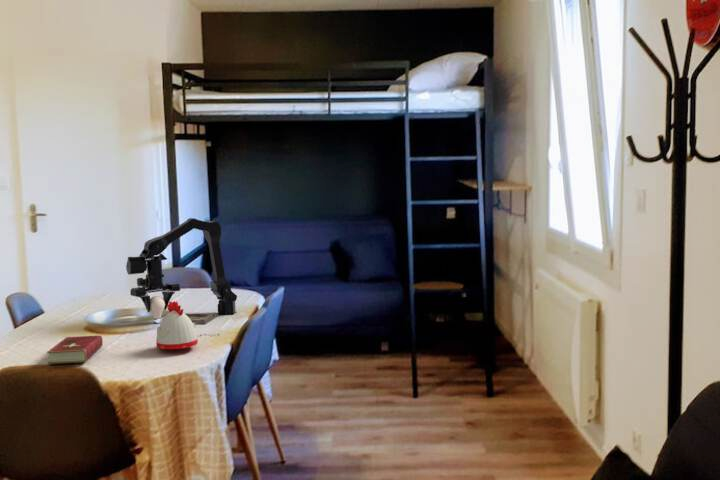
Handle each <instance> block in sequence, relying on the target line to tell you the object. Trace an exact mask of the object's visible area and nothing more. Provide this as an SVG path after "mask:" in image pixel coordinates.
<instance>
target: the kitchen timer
mask: <svg viewBox="0 0 720 480" xmlns="http://www.w3.org/2000/svg"><path fill="white" fill-rule="evenodd" d="M166 309H167V310H168V313H167V314H166V315H165V316H164V318H163V319H161V322H160V323H159V326H157V328H156V338H155V339H156V342H155V344H156V348H158V349H163V350H179V349H180V350H182V349H186V348H190V347H194V346H197V345H198V334H197V330H196V324H195V323H192V321H191V320H190V319H189V317H188V316H187V315H186V314H187V313H184V308H183V309H182V306H181V304H180V305H179V303H178V301H174V300H173V301H169V303H168V305H167V308H166Z"/></svg>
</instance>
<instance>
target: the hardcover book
mask: <svg viewBox="0 0 720 480" xmlns="http://www.w3.org/2000/svg"><path fill="white" fill-rule="evenodd" d="M103 343H104V342H103V336H102V335H101V334H100V335H99V334H97V335H79V336H78V335H76V336H66V337H65V338H64V339H62V340H61V341H60V342H58V343H57V344H55V345H54V346H53V347H52V348H50V349H49V350H48V351H47V352H46V353H47V354H48V362H47V364H48V365H53V364H54V365H57V364H70V363H71V364H72V363H85V362H87V361H88V360H89V359H91V357H92V356H93V355H94V354H95V353H97V351H99V350H100V349H101V348H102V346H103Z"/></svg>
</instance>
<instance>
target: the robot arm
mask: <svg viewBox="0 0 720 480" xmlns="http://www.w3.org/2000/svg"><path fill="white" fill-rule="evenodd" d="M193 230H199V231H201V232H202V233H203V236H204V239H205V240H206V242H207V244H208V249H209V256H210V262H211V268H212V274H213V278H212V281H209V284H210V291H211V292H212V294H213V295H214V296H216V298H217V300H218V304H217V316H233V315H235V314H237V313H238V311H236V310H237V309H236V308H237V307H236V301H237V299H238V296H237V295H236V293H235V292H233V291H232V288H231V285H230V281H229V280H228V278H227V277H226V272H225V268H224V260H223V254H222V250H221V243H220V242H221V239H222V226H221V224H220V222H218V221H212V220H206V221H205V220H200V219H197V218H193V217H189V218H188V219H187V220H185V221H184V222H182V223H181V224H179V225H177V226H176V227H174V228H172V229H171V230H169V231H168V232H166V233H164V234H162V235H159V236H156V237H153V238H150V239H149V240H148V239H147V241H145V243H144V244H143V245H144V246H143V249H142V251H141V253H140V254H139V256H128V257H127V260H126V264H125V265H126V267H125V268H126V269H125V270H126V272H127V274H128V275H137V274H138V275H139V274H145V272H146V273H147V274H145V278H144V277H138V278H136V284H137V287H132V288H131V289H130V291H129V292H130V296H132V297H137V298H140V299H141V301H142V302H143V305H144V307H145V309H146V311H147V313H151V311H150V299H151V295H149V294H150V293H158V292H161V293H162V296H163V297H162V298H163V300H164V302H165V307H164V310H163V311H166V310H167V309H168V308H167V305H168V304H169V302H171V301H170V300H171V299H172V297H173V295H174V294H176V292H180V291H181V285H180V284H179V283H177V282H167V283H165V284H164V279H163V278H164V277H165V273H164V274H163V261H166V260H168V258H167V257H166V256H165V255H164V254H163V252H164V251H165V250H166V249H167V248H168V247H169V246H170V244H171V243H173V242H175V241H177V240H178V239H180V238H182V237H183V236H185V235H186V234H187V233H189V232H191V231H193Z"/></svg>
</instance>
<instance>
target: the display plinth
mask: <svg viewBox="0 0 720 480" xmlns="http://www.w3.org/2000/svg"><path fill="white" fill-rule="evenodd" d="M185 314H186V315H187V316H188V317H189V319H190V320H191V321H192V323H195V325H207V324H208V323H210V322H211V321H214V319H216V318H218V314H217V315H216V314H215V313H185Z"/></svg>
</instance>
